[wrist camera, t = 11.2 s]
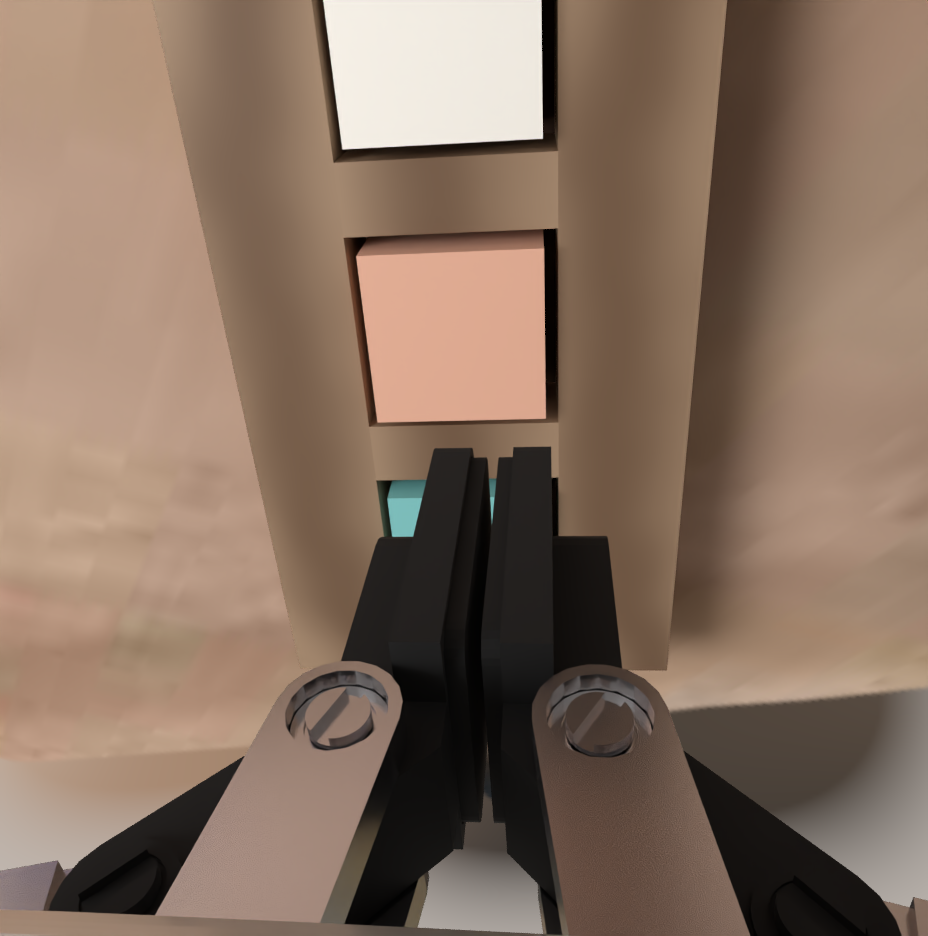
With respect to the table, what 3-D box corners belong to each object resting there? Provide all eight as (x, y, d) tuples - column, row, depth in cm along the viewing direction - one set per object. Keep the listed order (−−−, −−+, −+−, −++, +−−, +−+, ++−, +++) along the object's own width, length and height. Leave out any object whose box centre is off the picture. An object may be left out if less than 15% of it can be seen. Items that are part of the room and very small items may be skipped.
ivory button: (538, -99, 21) (540, -111, 18) (541, 121, 23) (542, 138, 21) (338, -83, 21) (311, -92, 18) (362, 131, 24) (342, 149, 21)
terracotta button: (542, 221, 25) (543, 248, 22) (544, 377, 27) (545, 418, 25) (373, 228, 25) (356, 256, 22) (391, 382, 28) (377, 422, 25)
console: (723, -261, 19) (753, -300, 17) (655, 616, 33) (666, 670, 30) (154, -206, 20) (100, -234, 18) (317, 617, 34) (299, 668, 31)
